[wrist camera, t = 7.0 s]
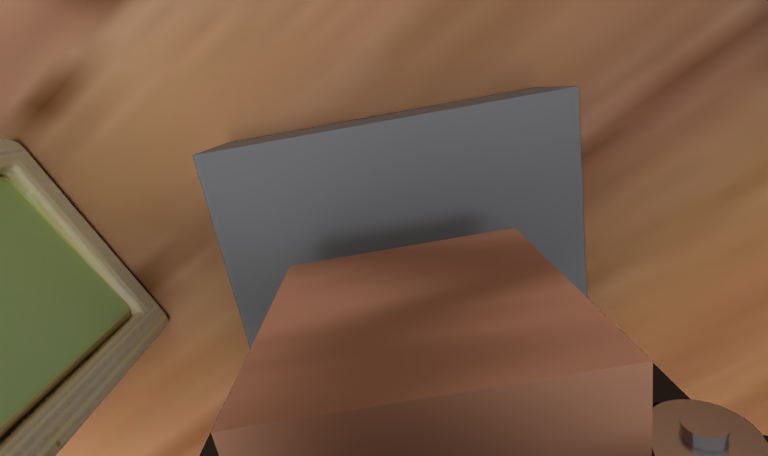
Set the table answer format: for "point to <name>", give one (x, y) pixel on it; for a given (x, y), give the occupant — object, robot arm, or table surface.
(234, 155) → the charcoal base
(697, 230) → the table surface
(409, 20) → the table surface
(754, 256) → the table surface
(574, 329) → the terracotta block
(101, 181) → the table surface
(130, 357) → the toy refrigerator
